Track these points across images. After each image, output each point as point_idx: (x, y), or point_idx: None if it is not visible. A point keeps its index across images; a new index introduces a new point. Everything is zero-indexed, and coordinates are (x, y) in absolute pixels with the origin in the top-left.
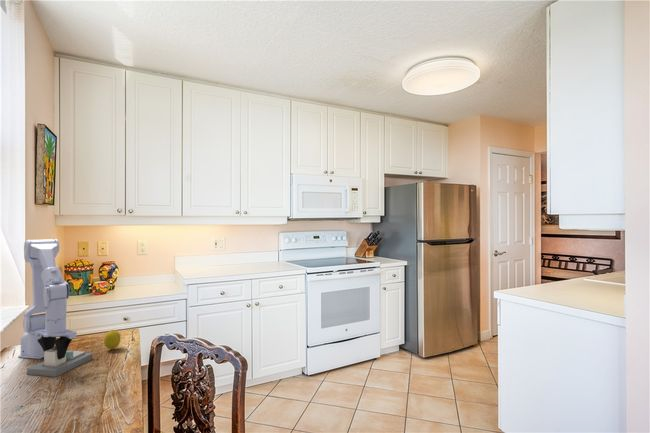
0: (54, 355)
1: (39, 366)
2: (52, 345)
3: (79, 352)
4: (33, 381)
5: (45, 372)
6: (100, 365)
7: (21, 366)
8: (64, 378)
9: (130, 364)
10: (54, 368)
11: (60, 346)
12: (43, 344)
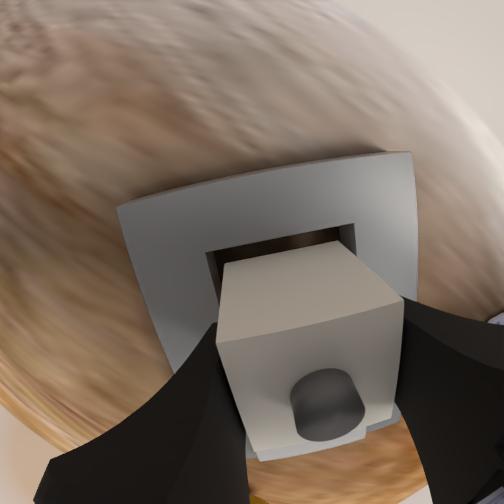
0: (225, 315)
1: (357, 212)
2: (413, 414)
3: (284, 447)
4: (209, 85)
5: (221, 179)
6: (89, 395)
7: (499, 228)
8: (63, 212)
9: (19, 412)
10: (177, 234)
11: (116, 426)
12: (479, 352)
